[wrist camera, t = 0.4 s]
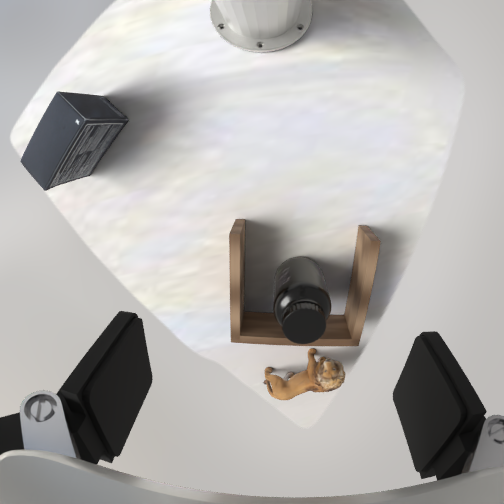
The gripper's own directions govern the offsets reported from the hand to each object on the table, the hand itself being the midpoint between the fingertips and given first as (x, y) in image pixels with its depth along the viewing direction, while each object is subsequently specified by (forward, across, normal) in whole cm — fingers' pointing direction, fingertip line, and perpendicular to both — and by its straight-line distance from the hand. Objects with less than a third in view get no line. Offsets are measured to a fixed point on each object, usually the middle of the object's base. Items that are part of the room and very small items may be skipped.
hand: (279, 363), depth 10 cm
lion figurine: (+32, -6, +27) cm, 42 cm away
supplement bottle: (+32, -4, +12) cm, 34 cm away
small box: (+31, +26, -8) cm, 41 cm away
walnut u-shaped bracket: (+31, -4, +11) cm, 33 cm away
